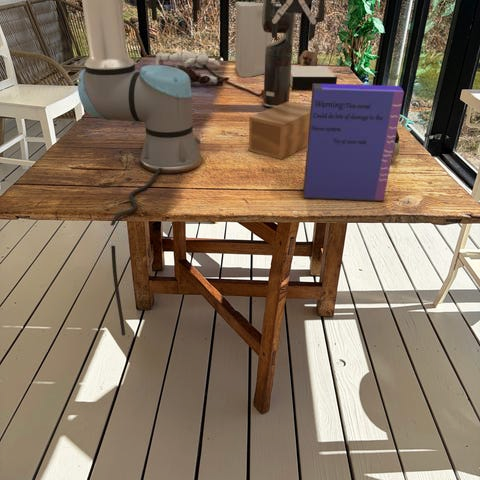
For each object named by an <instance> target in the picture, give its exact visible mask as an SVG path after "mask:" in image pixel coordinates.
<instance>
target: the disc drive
mask: <svg viewBox="0 0 480 480" xmlns="http://www.w3.org/2000/svg"><path fill="white" fill-rule="evenodd" d="M337 82H338V76H336V75H335V74H334V73H333V72H332V71H331V69H329V67H328V66H327V65H318V66H317V65H316V66H301V65H292V66H291V81H290V88H291V90H292V91H295V90H297V91H298V90H300V91H303V90H305V91H312V87H313V84H338V83H337Z"/></svg>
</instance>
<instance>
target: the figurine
mask: <svg viewBox="0 0 480 480" xmlns="http://www.w3.org/2000/svg"><path fill="white" fill-rule="evenodd" d="M174 68H177V69H180V70H182V71H184V72H185V73H187V74H188V76H189V78H190V83H191V84H194V83H199V84H200V85H206V84H212V85H215V86H217V85H222V86H223V84H224V83H226V82H225V81H228V82H229V80H230V77H229V76H219V75H218V74H216V75H217V76H215V75H214V76H211V75H208V74H204V75H202V74H201V73H200V72H199V73H197V72H196V71H195V69H194V68H192V67H190V68H188V67H187V68H186V67H185V66H184V65H180V64H175V65H174ZM218 76H219V77H218Z"/></svg>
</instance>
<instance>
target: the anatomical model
mask: <svg viewBox="0 0 480 480" xmlns="http://www.w3.org/2000/svg"><path fill="white" fill-rule="evenodd" d="M312 48H313V49H315V50H314V51H310V50H307V49H306V50H304V51H302V53H301V55H299V57H298V61H297V62H298V65H299V66H317V65H318V62H319V59H318V55H319V51H320V46H319V45H318V44H313V46H312Z"/></svg>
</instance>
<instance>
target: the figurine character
mask: <svg viewBox="0 0 480 480" xmlns="http://www.w3.org/2000/svg"><path fill="white" fill-rule="evenodd" d="M399 141H400V135H399V131H397V132H396V137H395V142H394V148H393V153H392V157H398V155H399V153H400V152H399V151H400V142H399Z"/></svg>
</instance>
